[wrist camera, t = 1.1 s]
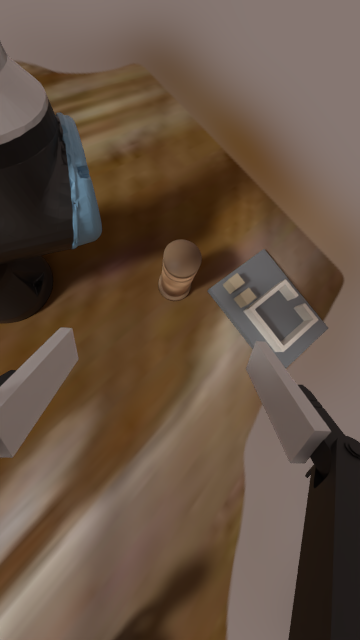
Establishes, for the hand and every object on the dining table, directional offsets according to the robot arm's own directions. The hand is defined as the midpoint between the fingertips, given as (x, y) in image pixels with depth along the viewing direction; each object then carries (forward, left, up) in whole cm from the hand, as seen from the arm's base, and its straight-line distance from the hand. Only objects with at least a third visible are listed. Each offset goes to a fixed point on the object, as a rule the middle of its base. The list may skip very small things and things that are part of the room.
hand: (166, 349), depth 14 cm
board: (+7, +23, -23) cm, 34 cm away
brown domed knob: (-9, +10, -23) cm, 27 cm away
